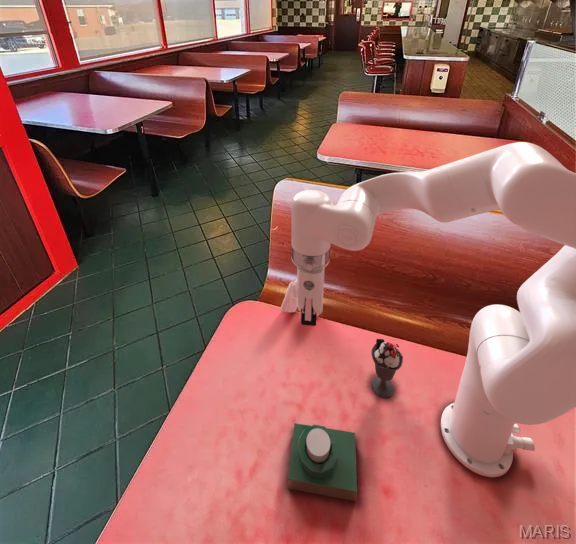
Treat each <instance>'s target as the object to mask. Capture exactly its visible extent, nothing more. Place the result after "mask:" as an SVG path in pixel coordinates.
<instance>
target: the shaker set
mask: <svg viewBox="0 0 576 544" xmlns="http://www.w3.org/2000/svg"><path fill="white" fill-rule="evenodd" d="M297 309H298V296H297V279H295V280H294V281H291V282H290V283H289V284H288V286H287V288H286V291H285V294H284V298H283V300H282V303H281V306H280V307H279V310H280V312H282V313H283V312H284V313H296V312H297ZM318 316H320V314H317V316H316V318H318Z"/></svg>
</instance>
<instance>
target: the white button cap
mask: <svg viewBox="0 0 576 544" xmlns="http://www.w3.org/2000/svg"><path fill="white" fill-rule="evenodd" d="M306 451H307V454H308V456H309V458H310V459H311V460H312V461H314V462H316V463H322V462H324V461H326V460H327V458H328V457H329V454H330V438H329V436H328V434H327V433H326V432H325V431H324V430H322V429H319V428H316V429H313V430H311V431H310V432H309V434H308V435H307V439H306Z"/></svg>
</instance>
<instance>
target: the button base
mask: <svg viewBox="0 0 576 544" xmlns="http://www.w3.org/2000/svg"><path fill="white" fill-rule="evenodd" d="M316 428H319V429H322V430H324V431H325V432H326V433H327V434H328V436H329V438H330V454H329V457H328V458H327V460H326V461H324V462H322V463H316V462H314V461H312V460H311V459H310V458H309V456H308V454H307V451H306V439H307V435H308V434H309V432H310V431H311V430H313V429H316ZM291 440H292V441H291V449H290V458H289V467H288V475H287V489H288V490H294V491H300V492H305V493H311V494H315V495H321V496H326V497H331V498H336V499H337V498H338V499H341V500H342V499H343V500H348V501H353V502H356V501H357V495H358V480H357V451H356V449H357V448H356V433H355V432H352V431H346V430H340V429H335V428H328V427H326V426H324V425H319V424H312V425H308V424H303V423H297V422H296V423H295V422H294V424H293V433H292V439H291Z"/></svg>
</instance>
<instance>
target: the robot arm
mask: <svg viewBox="0 0 576 544" xmlns="http://www.w3.org/2000/svg"><path fill="white" fill-rule="evenodd" d="M406 209H412V210H416V211H417V210H418V211H420V212H422V213H424V214H426V215H428V216H429V217H431V218H432V219H434V220H435V221H437V222H439V223H451V222H454V221H457V220H462V219H465V218H469V217H474V216H478V215H481V214H485V213H489V212H494V211H499V210H500V212H501V213H502V214H503V216H504V217H505V218H506V219H508V220H509V221H510V222H511V223H512V224H514V225H516V226H517V227H519V228H522V229H523V230H525V231H527V232H530V233H531V234H535V235H537V236H539V237H542V238H544V239H547V240H549V241H553V242H555V243H558V244H561V245H563V247H562V248H560V249H559V251H557V253H556V254H554V255H553V256H551V258H550V259H549V260H548V261H547V262H546V263H544V264H543V265H542V266H541V267H540V268H538V269H537V271H535V272H534V273H533V274H532V275H531V276H530V277H528V278H527V279H526V280H525V281H524V282H523V283H522V284H521V285H520V287H519V288H518V290H517V293H516V301H517V306H518V310H517V309H515V308H514V307H511V306H508V305H505V304H495V303H494V304H490V305H486V306H483V308H481V309H480V310H479V311H477V312H476V314H475V315H474V317H473V319H472V321H471V325H470V328H469V335H468V336H469V337H468V347H467V353H466V358H465V362H464V365H463V370H462V373H461V377H460V381H459V384H458V389H457V391H456V396H455V399H454V402H453V403H450V404H449V405H447V406H446V407H445V408H444V410H443V412H442V414H441V417H440V431H441V435H442V438H443V440H444V442H445V444H446V446H447V449H448V450H449V451H450V452H451V454H452V455H453V456H454V457H455V459H456V460H458V462H459V463H461V464H462V465H463V466H464V467H465V468H467V469H468V470H470V471H471V472H473V473H475V474H477V475H480V476H483V477H487V478H497V477H502V476H503V475H505V474H506V473H508V471H509V470H510V468H511V466H512V464H513V459H514V451H517V450H518V449H521V450H525V451H529V452H530V451H531V452H535V451H536V450H535V449H536V447H535V446H536V445H535V443H534V441H533V439H532V438H531V437H527V436H526V437H525V436H515V435H514V434H521V428H520V426H519V425H525V426H535V425H541V424H545V423H546V424H547V423H548V422H551V421H554V420H556V419H558V418H559V417H561V416H564V415H565V414H567V413H568V412H570V411H572V410H574V409H576V172H573V171H571V170H569V169H568V168H567V167H565V166H564V165H563V164H562V163H561V162H560V161H559V160H558V159H557V158H556V157H555V156H553V155H552V154H551V153H550V152H549V151H547V150H546V149H545V148H543V147H542V146H540V145H537V144H535V143H532V142H527V141H526V142H525V141H518V142H511V143H507V144H504V145H500V146H498V147H497V146H496V147H494V148H491V149H488V150H484V151H482V152H479V153H476V154H473V155H470V156H467V157H463V158H461V159H458V160H454V161H452V162H448V163H446V164H445V163H444V164H442V165H439V166H436V167H433V168H430V169H427V170H422V171H403V172H402V171H401V172H391V173H386V174H381V175H378V176H375V177H372V178H369V179H367V180H363V181H361V182H358V183H355V184H353V185H351V186H349V187H348V188H347V189H345V190H344V191H343V192H342V193H341V195H340V197H339V199H338V201H337V203H336V204H334V203H333V199H332V198H331V196H330V195H329V194H328V193H326V192H324V191H321V190H319V189H307V190H305V189H304V190H301V191H299V192H297V193H296V194H294V196H293V197H292V200H291V262H292V264H293V265H294V266H295V267H297V268H296V269H297V270H296V280H297V296H298V307H297V310H298V312H300V325H302V326H309V327H310V326H311V327H316V326H317V317H318V316H317V314H319V315H321V314H322V313H323V311H324V310H323V309H324V294H325V293H324V291H325V271H326V270H325V268H326V267H327V266H328V265H329V264H330V262H331V244H332V245H334V246H336V247H338V248H340V249H344V250H347V251H351V252H352V251H353V252H355V251H356V252H357V251H361V250H364V249H365V248H366V247H367V246H369V244H370V243H371V241H372V237H373V234H374V229H375V224H376V220H377V217H378V216H380V215H383V214H386V213H389V212H393V211H397V210H406ZM316 316H317V317H316ZM513 433H514V434H513Z"/></svg>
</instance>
